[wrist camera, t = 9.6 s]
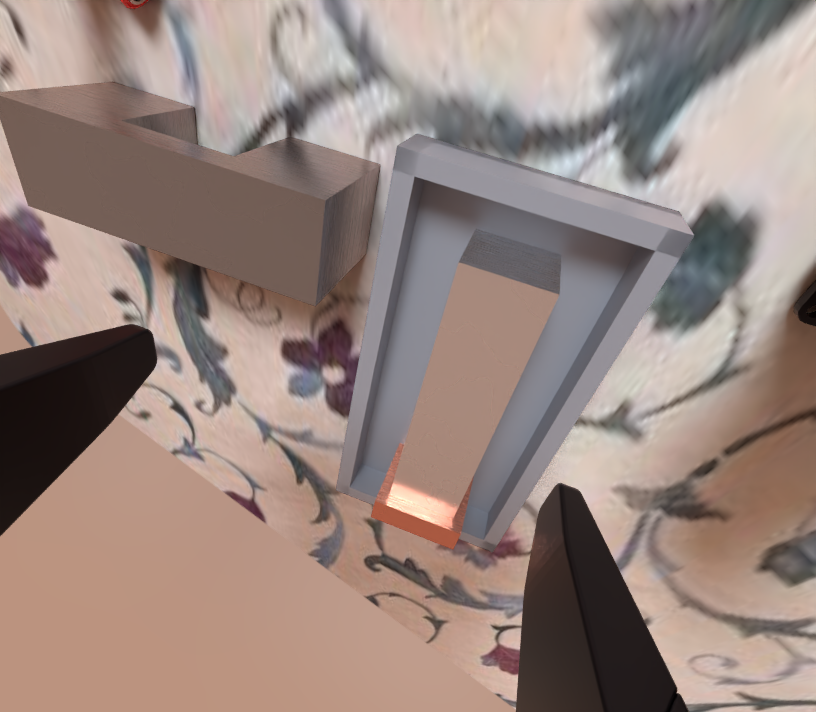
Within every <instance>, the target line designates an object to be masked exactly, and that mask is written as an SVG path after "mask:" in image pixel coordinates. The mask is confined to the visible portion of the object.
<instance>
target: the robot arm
mask: <svg viewBox="0 0 816 712" xmlns="http://www.w3.org/2000/svg"><path fill="white" fill-rule="evenodd" d="M812 306H816V280H815V282H814V283H813V284H812V285H811V286H810V287H809V288H808V290H807V291H806V292H805V293H804V294H803V295H802V296H801V298H800V299H799V300H798V301H797V302H796V304H795V306H794V313H795V314H796V316H797V317H798V318H799V319H800V321H802V322H804V323H807V324H810V325H813V326H816V311H814V312H811V313H807V310H808V309H809V308H810V307H812ZM156 364H157V354H156V349H155V343H154V338H153V334H152V332H151V331H150V330H148V329H146V328H143V327H140V326H138V325H134V324H129V325H124V326H120V327H116V328H112V329H107V330H103V331H99V332H95V333H90V334H86V335H82V336H78V337H73V338H69V339H65V340H61V341H56V342H52V343H48V344H44V345H39V346H35V347H31V348H27V349H23V350H18V351H14V352H10V353H6V354H1V355H0V536H1V535H2V534H3V533H4V532H5V531H6V530H7V529H8V528H9V527H10V526H11V525H12V524H13V523H14V522H15V521H16V520H17V518H19V517H20V516H21V515H22V514H23V512H24V511H26V510H27V509H28V508H29V507H30V505H31V504H32V503H33V502H34V501H35V500H36V499H37V498H38V497H39V496H40V495H41V494H42V493H43V492H44V491H45V490H46V489H47V488H48V487H49V486H50V485H51V484H52V483H53V482H54V481H55V480H56V479H57V478H58V477H59V476H60V475H61V474H62V473H63V472H64V471H65V470H66V469H67V468H68V467H69V466H70V464H72V463H73V461H75V459H76V458H77V457H78V456H79V455H80V454H81V453H82V452H83V451H84V450H85V449H86V448H87V447H88V446H89V445H90V444H91V443H92V442H93V441H94V440H95V439H96V438H97V437H98V436H99V435H100V434H101V433H102V432H103V431H104V430H105V429H106V428H107V427H108V426H109V424H110V423H111V422H112V421H113V420H114V418H115V417H116V416H117V415H118V414H119V413H120V411H121V410H122V409H123V408H124V406H125V405H126V404H127V403H128V401H129V400H130V399H131V398H132V396H133V395H134V394H135V393H136V391H137V390H138V389H139V388H140V386H141V385H142V384H143V383H144V381H145V380H146V379H147V378H148V376H149V375H150V374H151V373H152V371H153V370H154V368H155V366H156ZM516 712H689V711H688V708H687V706H686V704H685V702H684V700H683V698H682V696H681V695H680V694H679V693H677V687H676V685H675V682H674V680H673V678H672V676H671V674H670V672H669V670H668V668H667V666H666V664H665V662H664V660H663V658H662V656H661V654H660V652H659V650H658V648H657V646H656V644H655V642H654V640H653V638H652V636H651V634H650V632H649V630H648V628H647V626H646V624H645V622H644V620H643V618H642V615H641V613H640V611H639V609H638V607H637V605H636V603H635V601H634V599H633V597H632V595H631V593H630V591H629V589H628V587H627V585H626V583H625V581H624V579H623V577H622V575H621V573H620V571H619V569H618V567H617V565H616V563H615V561H614V559H613V557H612V555H611V553H610V551H609V548H608V546H607V544H606V542H605V540H604V538H603V536H602V534H601V532H600V530H599V528H598V526H597V524H596V522H595V520H594V518H593V516H592V514H591V512H590V510H589V508H588V506H587V504H586V502H585V500H584V498H583V496H582V494H581V492H580V491H579V490H578V489H576V488H573V487H570V486H568V485H565V484H562V483H559V484H557V485H556V486H555V487H554V488H553V490H552V491H551V493H550V494H549V496H548V497H547V499H546V500H545V502H544V503H543V504H542V506H541V508H540V511H539V514H538V518H537V524H536V529H535V534H534V540H533V545H532V550H531V556H530V561H529V566H528V572H527V577H526V583H525V590H524V600H523V614H522V629H521V643H520V658H519V673H518V688H517V703H516Z"/></svg>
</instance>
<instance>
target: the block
mask: <svg viewBox="0 0 816 712" xmlns="http://www.w3.org/2000/svg"><path fill="white" fill-rule="evenodd" d="M0 120H1V123H2V126H3V129H4V132H5V135H6V138H7V142H8V145H9V148H10V151H11V154H12V157H13V160H14V163H15V166H16V169H17V172H18V176H19V179H20V182H21V185H22V188H23V191H24V194H25V197H26V200H27V203H28V206H30V207H33V208H36V209H39V210H42V211H45V212H48V213H50V214H53V215H56V216H59V217H62V218H65V219H68V220H70V221H73V222H76V223H79V224H82V225H85V226H88V227H90V228H93V229H96V230H99V231H102V232H105V233H108V234H110V235H113V236H116V237H119V238H122V239H125V240H128V241H130V242H133V243H136V244H139V245H142V246H145V247H148V248H150V249H153V250H156V251H159V252H162V253H165V254H167V255H170V256H173V257H176V258H179V259H182V260H185V261H187V262H190V263H193V264H196V265H199V266H202V267H205V268H207V269H210V270H213V271H216V272H219V273H222V274H225V275H227V276H230V277H233V278H236V279H239V280H242V281H245V282H247V283H250V284H253V285H256V286H259V287H262V288H265V289H267V290H270V291H273V292H276V293H279V294H282V295H285V296H287V297H290V298H293V299H296V300H299V301H302V302H305V303H307V304H310V305H313V306H316V305H317V304H318V303H319V302H320V301H321V300H322V299H323V298H324V297H325V296H326V295H327V294H328V293H329V292H330V291H331V290H332V289H333V288H334V287H335V286H336V284H337V283H338V282H339V281H340V280H341V279H342V278H343V277H344V276H345V275H346V274H347V273H348V272H349V271H350V270H351V269H352V268H353V267H354V266H355V265H356V264H357V263H358V262H359V260H360V259H361V258H362V257H363V256H364V255H365V254H366V250H367V244H368V238H369V232H370V225H371V219H372V213H373V207H374V200H375V194H376V188H377V182H378V175H379V169H380V164H377V163H374V162H370V161H367V160H364V159H361V158H357V157H354V156H351V155H348V154H345V153H341V152H338V151H335V150H332V149H328V148H325V147H322V146H319V145H315V144H312V143H309V142H306V141H302V140H299V139H296V138H293V137H289V138H286V139H283V140H280V141H277V142H274V143H271V144H268V145H265V146H262V147H260V148H257V149H254V150H251V151H248V152H245V153H242V154H239V155H236V156H231V155H228V154H225V153H221V152H218V151H215V150H212V149H209V148H206V147H203V146H199V145H197V135H196V123H195V110H194V107H192V106H189V105H186V104H183V103H179V102H176V101H173V100H170V99H166V98H163V97H160V96H157V95H153V94H150V93H147V92H144V91H140V90H137V89H134V88H131V87H127V86H124V85H121V84H118V83H114V82H106V83H96V84H85V85H74V86H63V87H52V88H41V89H30V90H19V91H8V92H0Z"/></svg>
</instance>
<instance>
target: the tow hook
mask: <svg viewBox="0 0 816 712" xmlns="http://www.w3.org/2000/svg"><path fill="white" fill-rule="evenodd" d="M120 1H121V2H122V3H123V4H124V5H125V6H126V7H127V8H130V9H135V8H139V7H141V6H143V5H144V4H145V3H146V2H147V1H148V0H120Z"/></svg>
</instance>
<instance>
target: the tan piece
mask: <svg viewBox="0 0 816 712" xmlns="http://www.w3.org/2000/svg"><path fill="white" fill-rule="evenodd" d="M560 274H561V255H560V254H557V253H554V252H550V251H547V250H544V249H541V248H538V247H534V246H531V245H528V244H525V243H522V242H518V241H515V240H512V239H509V238H506V237H502V236H499V235H496V234H493V233H490V232H486V231H483V230H480V229H477V228H476V229H475V231H474V233H473V235H472V237H471V239H470V241H469V243H468V245H467V247H466V249H465V251H464V253H463V255H462V256H461V258H460V260H459V263H458V266H457V269H456V273H455V276H454V279H453V283H452V286H451V289H450V293H449V296H448V299H447V303H446V306H445V310H444V313H443V316H442V320H441V323H440V326H439V330H438V333H437V336H436V340H435V343H434V346H433V350H432V353H431V356H430V360H429V363H428V367H427V370H426V373H425V377H424V380H423V383H422V387H421V390H420V393H419V397H418V400H417V403H416V407H415V410H414V413H413V417H412V420H411V424H410V427H409V430H408V434H407V437H406V440H405V444H401V443H399V446H398V448H397V450H396V453H395V455H394V458H393V460H392V462H391V465H390V467H389V469H388V472H387V474H386V476H385V479H384V481H383V483H382V486H381V488H380V490H379V493H378V495H377V498H376V500H375V503H374V507H373V511H372V514H371V517H372V518H375V519H377V520H380V521H382V522H385V523H387V524H390V525H393V526H395V527H398V528H400V529H403V530H405V531H408V532H410V533H413V534H415V535H418V536H420V537H423V538H425V539H428V540H430V541H433V542H435V543H438V544H441V545H443V546H446V547H448V548H451V549H454V547H455V545H456V543H457V541H458V539H459V537H460V535H461V531H462V527H463V522H464V518H465V513H466V509H467V504H468V500H469V495H470V491H471V486H472V482H473V477H474V474H475V472H476V470H477V468H478V465H479V463H480V461H481V459H482V457H483V455H484V453H485V451H486V449H487V446H488V444H489V442H490V440H491V438H492V436H493V434H494V432H495V430H496V428H497V425H498V423H499V421H500V419H501V417H502V415H503V413H504V411H505V409H506V406H507V404H508V402H509V400H510V398H511V396H512V394H513V392H514V390H515V388H516V385H517V383H518V381H519V379H520V377H521V375H522V373H523V371H524V369H525V366H526V364H527V362H528V360H529V358H530V356H531V354H532V352H533V350H534V348H535V345H536V343H537V341H538V339H539V337H540V335H541V333H542V331H543V329H544V326H545V324H546V322H547V320H548V318H549V316H550V314H551V312H552V310H553V308H554V305H555V303H556V301H557V299H558V297H559V295H560Z"/></svg>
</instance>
